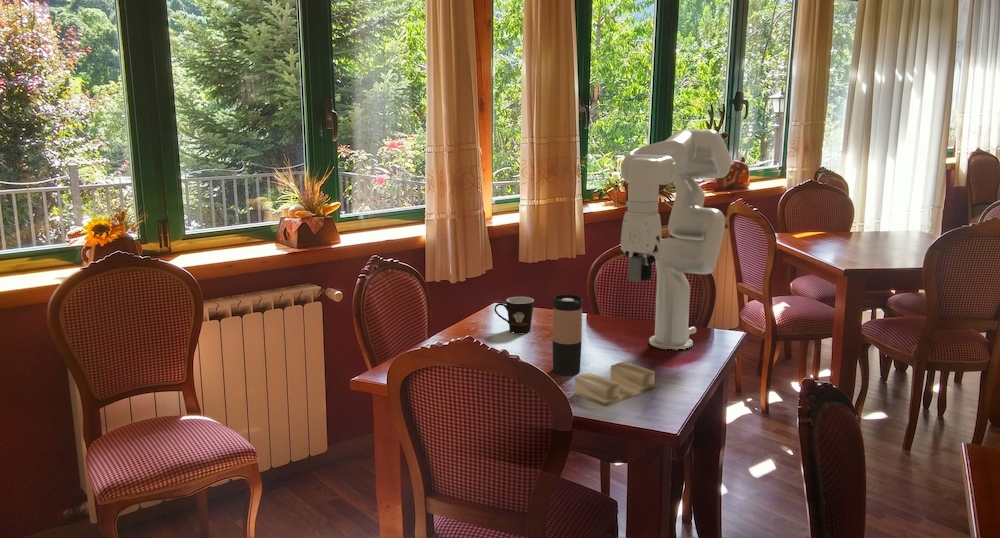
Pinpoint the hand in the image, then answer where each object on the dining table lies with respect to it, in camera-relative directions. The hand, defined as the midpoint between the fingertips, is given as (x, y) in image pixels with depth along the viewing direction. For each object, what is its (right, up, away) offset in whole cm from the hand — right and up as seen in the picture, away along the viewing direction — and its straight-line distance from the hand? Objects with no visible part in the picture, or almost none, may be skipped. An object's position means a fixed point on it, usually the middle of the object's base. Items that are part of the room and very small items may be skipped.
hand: (640, 277), depth 194 cm
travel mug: (-18, -25, +7) cm, 32 cm away
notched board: (-8, -28, -7) cm, 30 cm away
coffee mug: (-31, -17, +44) cm, 56 cm away
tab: (0, 0, 0) cm, 1 cm away
